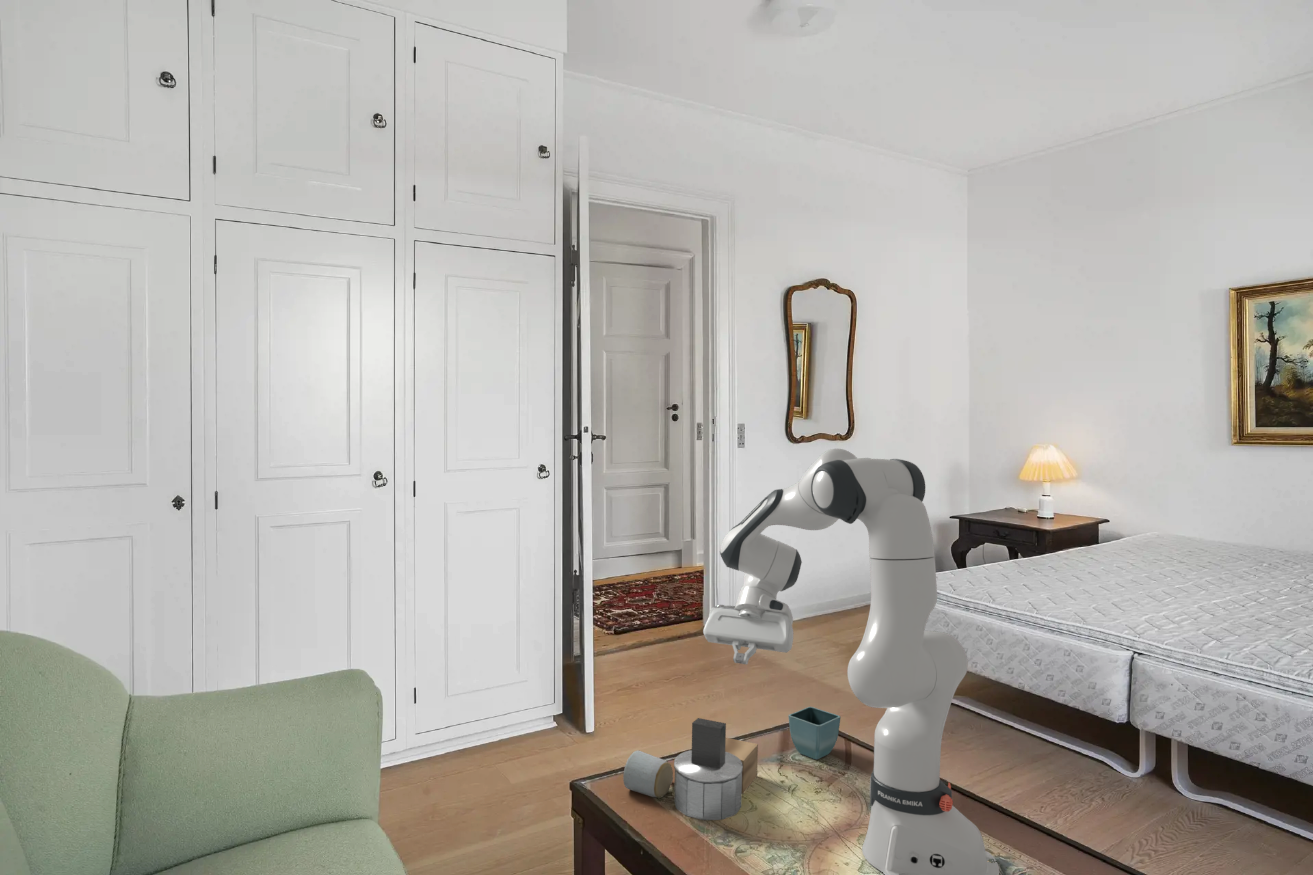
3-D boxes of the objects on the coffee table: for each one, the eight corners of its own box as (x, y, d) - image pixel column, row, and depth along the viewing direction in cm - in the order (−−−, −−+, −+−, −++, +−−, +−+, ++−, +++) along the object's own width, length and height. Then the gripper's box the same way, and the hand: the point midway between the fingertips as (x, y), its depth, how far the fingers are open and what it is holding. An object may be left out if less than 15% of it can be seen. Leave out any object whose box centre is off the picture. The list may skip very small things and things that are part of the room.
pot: (749, 796, 159) (749, 762, 159) (726, 825, 147) (727, 789, 147) (690, 782, 164) (690, 749, 164) (664, 809, 153) (664, 774, 152)
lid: (751, 760, 159) (752, 717, 159) (728, 788, 146) (729, 742, 146) (690, 747, 165) (690, 706, 164) (662, 773, 152) (663, 728, 152)
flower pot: (786, 753, 180) (787, 714, 180) (809, 742, 186) (810, 705, 186) (818, 765, 174) (819, 725, 173) (840, 754, 180) (841, 716, 179)
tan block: (757, 775, 168) (757, 744, 168) (743, 793, 160) (743, 760, 160) (713, 766, 172) (714, 735, 172) (697, 783, 164) (698, 750, 164)
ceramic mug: (656, 805, 155) (657, 766, 154) (621, 794, 159) (622, 756, 159) (682, 785, 164) (683, 748, 164) (648, 775, 168) (649, 739, 168)
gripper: (709, 596, 183) (692, 648, 174) (794, 605, 174) (781, 661, 165) (715, 611, 187) (699, 663, 178) (800, 621, 178) (787, 676, 169)
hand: (740, 662), depth 171 cm, fingers closed
